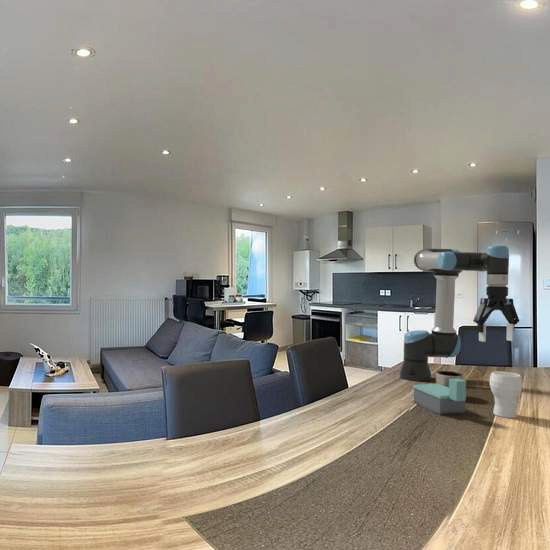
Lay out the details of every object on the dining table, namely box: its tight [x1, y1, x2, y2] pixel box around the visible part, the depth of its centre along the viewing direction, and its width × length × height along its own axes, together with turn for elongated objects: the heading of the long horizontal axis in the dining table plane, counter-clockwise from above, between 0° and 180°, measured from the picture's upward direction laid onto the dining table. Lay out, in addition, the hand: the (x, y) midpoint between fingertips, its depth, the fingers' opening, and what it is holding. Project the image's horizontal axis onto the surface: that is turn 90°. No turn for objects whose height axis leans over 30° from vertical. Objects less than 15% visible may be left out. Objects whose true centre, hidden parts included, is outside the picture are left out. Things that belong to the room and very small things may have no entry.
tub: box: [413, 388, 466, 416], centre depth 170 cm, size 16×11×6 cm
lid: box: [412, 378, 468, 402], centre depth 168 cm, size 21×12×7 cm, turn 17°
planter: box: [435, 370, 464, 388], centre depth 188 cm, size 11×11×10 cm
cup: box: [489, 370, 523, 419], centre depth 163 cm, size 11×11×15 cm
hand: (496, 341), depth 170 cm, fingers open, 13 cm apart
